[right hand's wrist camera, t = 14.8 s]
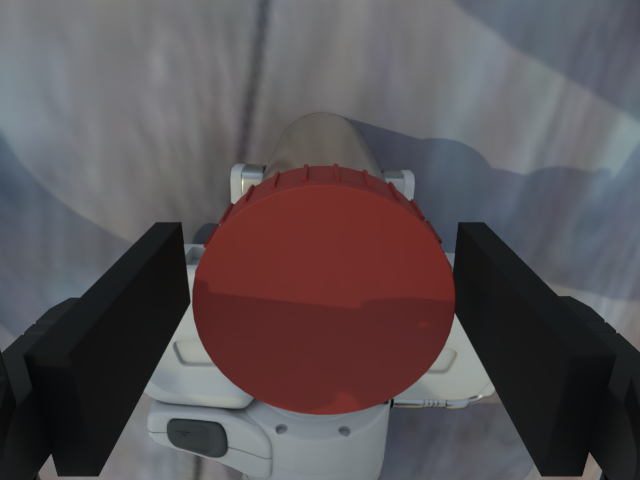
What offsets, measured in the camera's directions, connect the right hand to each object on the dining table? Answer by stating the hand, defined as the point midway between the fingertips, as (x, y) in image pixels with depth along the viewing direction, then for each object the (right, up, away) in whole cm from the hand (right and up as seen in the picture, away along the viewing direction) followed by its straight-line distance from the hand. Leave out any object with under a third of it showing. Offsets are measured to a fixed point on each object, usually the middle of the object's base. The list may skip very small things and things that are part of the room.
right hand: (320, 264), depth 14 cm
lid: (0, -1, -3) cm, 3 cm away
